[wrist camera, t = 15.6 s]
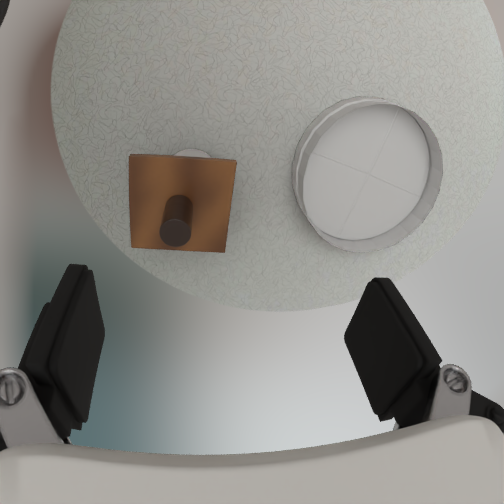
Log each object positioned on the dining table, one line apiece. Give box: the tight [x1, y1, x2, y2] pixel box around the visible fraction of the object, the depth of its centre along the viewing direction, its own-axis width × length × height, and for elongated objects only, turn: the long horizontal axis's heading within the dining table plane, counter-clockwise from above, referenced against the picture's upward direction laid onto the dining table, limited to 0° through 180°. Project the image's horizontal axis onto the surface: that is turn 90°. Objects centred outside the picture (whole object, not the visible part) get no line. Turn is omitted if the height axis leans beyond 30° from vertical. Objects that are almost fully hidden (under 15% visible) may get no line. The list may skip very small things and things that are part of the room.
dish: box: [292, 96, 443, 253], centre depth 41 cm, size 22×22×5 cm
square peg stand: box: [129, 154, 237, 253], centre depth 31 cm, size 11×11×6 cm
